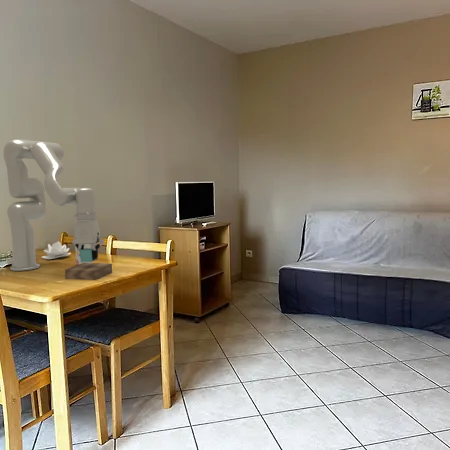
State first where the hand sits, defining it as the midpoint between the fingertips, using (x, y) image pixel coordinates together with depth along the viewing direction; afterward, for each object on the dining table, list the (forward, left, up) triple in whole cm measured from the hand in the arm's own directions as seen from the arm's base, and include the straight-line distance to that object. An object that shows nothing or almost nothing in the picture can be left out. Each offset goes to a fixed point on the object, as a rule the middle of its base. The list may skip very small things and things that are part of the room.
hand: (89, 258), depth 177 cm
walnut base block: (0, 0, -7) cm, 7 cm away
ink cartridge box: (-13, +17, -8) cm, 23 cm away
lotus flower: (-41, +36, -8) cm, 55 cm away
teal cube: (0, 0, -1) cm, 1 cm away
